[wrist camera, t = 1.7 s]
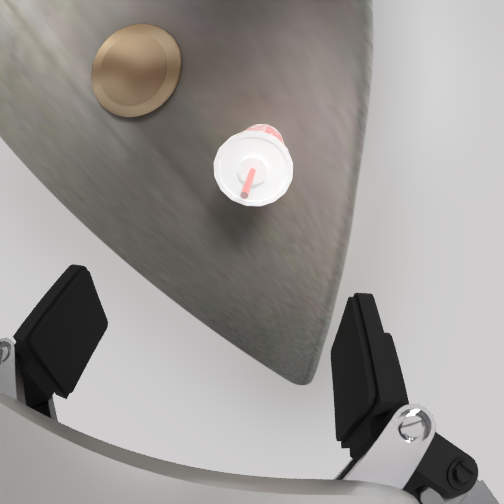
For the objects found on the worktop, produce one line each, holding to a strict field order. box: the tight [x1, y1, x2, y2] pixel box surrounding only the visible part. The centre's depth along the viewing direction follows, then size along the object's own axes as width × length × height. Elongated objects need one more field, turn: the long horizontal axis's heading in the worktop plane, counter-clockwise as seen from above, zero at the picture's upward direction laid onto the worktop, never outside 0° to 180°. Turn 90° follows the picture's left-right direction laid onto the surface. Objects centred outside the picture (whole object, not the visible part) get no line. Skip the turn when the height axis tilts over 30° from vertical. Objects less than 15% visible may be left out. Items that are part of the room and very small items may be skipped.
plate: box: [92, 24, 182, 117], centre depth 25 cm, size 11×11×1 cm
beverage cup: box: [214, 124, 293, 206], centre depth 23 cm, size 6×6×14 cm
